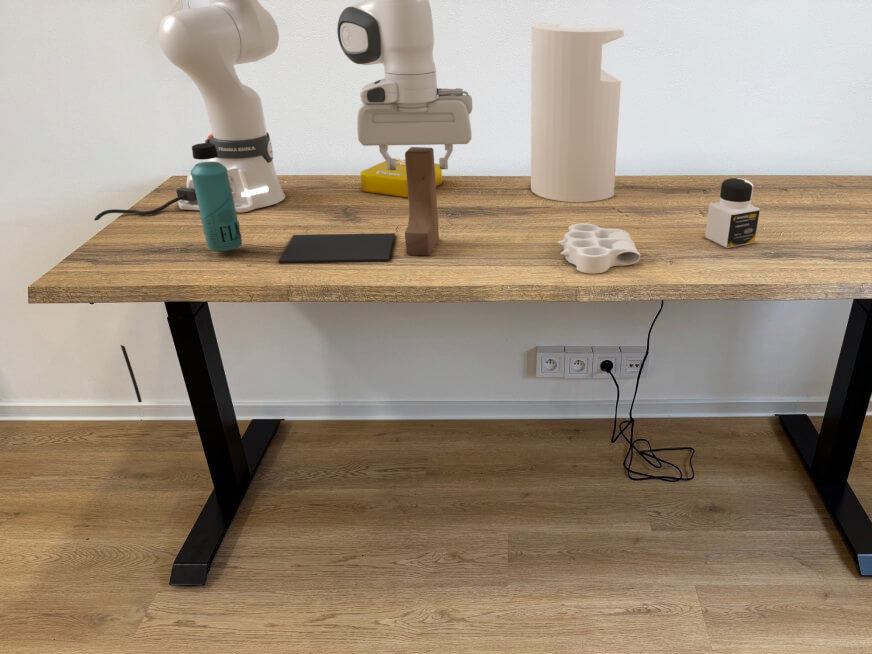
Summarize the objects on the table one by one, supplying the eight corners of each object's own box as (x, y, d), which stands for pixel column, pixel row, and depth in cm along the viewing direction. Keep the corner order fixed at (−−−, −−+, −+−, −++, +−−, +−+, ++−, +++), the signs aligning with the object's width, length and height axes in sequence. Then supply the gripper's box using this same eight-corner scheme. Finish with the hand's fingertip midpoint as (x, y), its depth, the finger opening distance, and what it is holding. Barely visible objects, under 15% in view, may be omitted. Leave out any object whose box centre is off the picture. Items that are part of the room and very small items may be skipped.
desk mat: (279, 263, 142) (278, 260, 142) (293, 237, 154) (293, 234, 154) (388, 261, 143) (388, 258, 143) (395, 235, 155) (394, 233, 155)
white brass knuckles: (642, 273, 140) (562, 274, 139) (625, 238, 155) (553, 239, 154) (644, 255, 138) (563, 256, 137) (626, 222, 153) (553, 223, 152)
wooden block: (429, 256, 146) (422, 159, 136) (406, 255, 146) (397, 158, 137) (439, 239, 153) (433, 147, 144) (417, 238, 154) (410, 146, 144)
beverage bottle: (224, 261, 143) (199, 150, 132) (200, 254, 146) (175, 145, 135) (252, 250, 147) (231, 143, 137) (229, 244, 150) (206, 138, 140)
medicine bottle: (726, 249, 151) (735, 187, 144) (704, 237, 156) (711, 178, 150) (755, 243, 153) (765, 183, 147) (731, 232, 159) (740, 173, 152)
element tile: (358, 191, 180) (356, 170, 178) (392, 175, 192) (390, 155, 190) (414, 199, 176) (412, 178, 173) (445, 182, 187) (444, 162, 185)
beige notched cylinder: (539, 180, 189) (615, 195, 180) (513, 191, 181) (591, 207, 172) (541, 22, 171) (625, 29, 161) (512, 27, 163) (599, 34, 153)
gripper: (471, 85, 138) (474, 163, 145) (355, 86, 136) (364, 165, 144) (471, 91, 132) (474, 172, 140) (350, 92, 131) (360, 174, 138)
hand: (418, 169), depth 142 cm, fingers open, 8 cm apart
